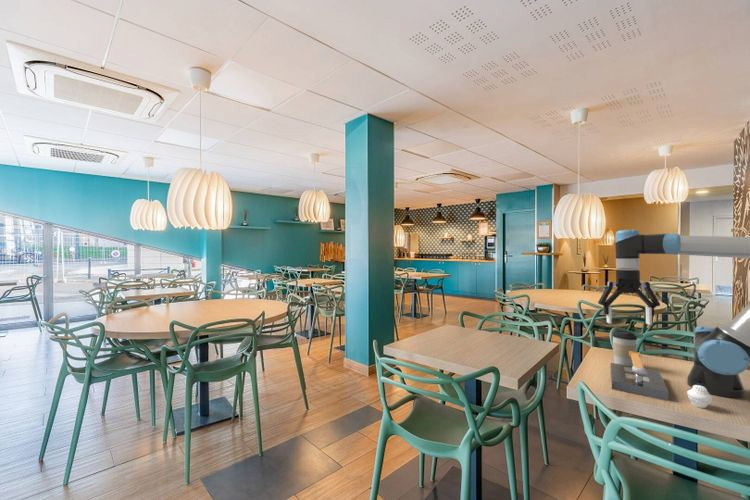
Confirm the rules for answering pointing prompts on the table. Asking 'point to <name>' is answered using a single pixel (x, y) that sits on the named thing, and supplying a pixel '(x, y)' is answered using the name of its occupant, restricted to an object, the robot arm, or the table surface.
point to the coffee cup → (623, 347)
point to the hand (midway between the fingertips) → (628, 323)
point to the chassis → (638, 381)
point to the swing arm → (637, 363)
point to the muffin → (699, 396)
